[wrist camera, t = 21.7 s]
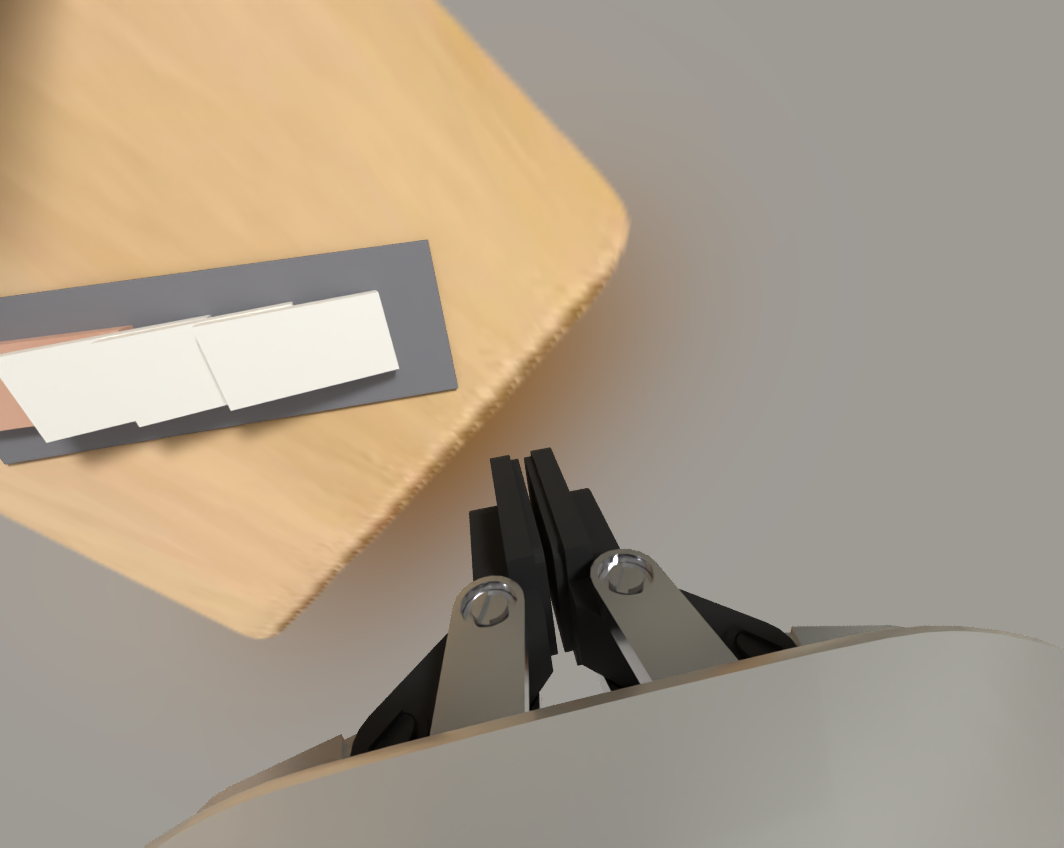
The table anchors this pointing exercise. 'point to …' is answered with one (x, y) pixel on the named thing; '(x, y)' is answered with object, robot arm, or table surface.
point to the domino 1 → (3, 407)
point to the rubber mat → (226, 290)
